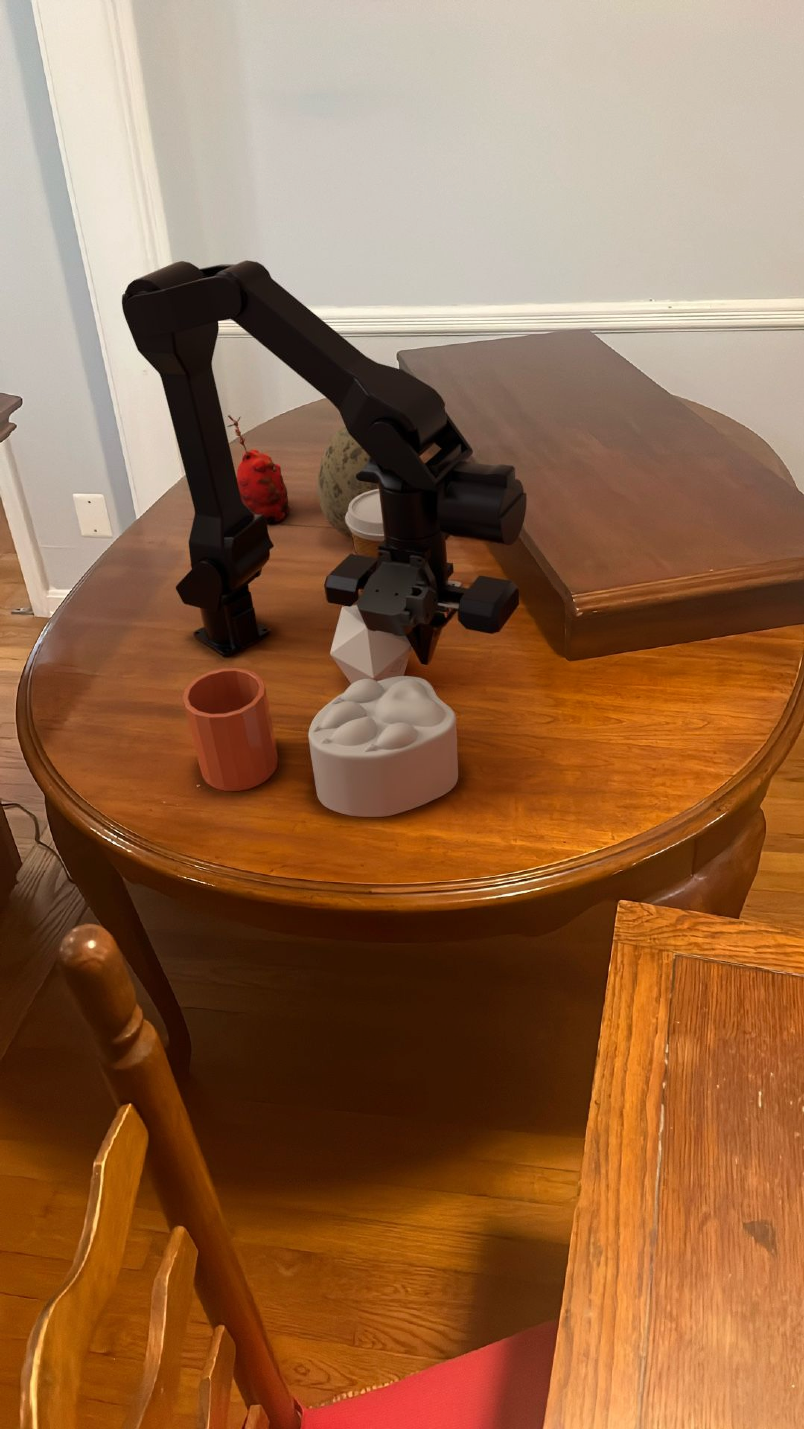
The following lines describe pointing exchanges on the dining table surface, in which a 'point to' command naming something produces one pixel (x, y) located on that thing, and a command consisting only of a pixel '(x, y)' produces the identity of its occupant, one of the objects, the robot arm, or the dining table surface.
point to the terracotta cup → (231, 728)
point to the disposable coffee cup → (366, 523)
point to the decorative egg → (341, 479)
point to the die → (367, 649)
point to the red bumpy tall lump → (261, 483)
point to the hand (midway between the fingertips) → (426, 662)
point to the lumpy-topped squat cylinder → (383, 747)
